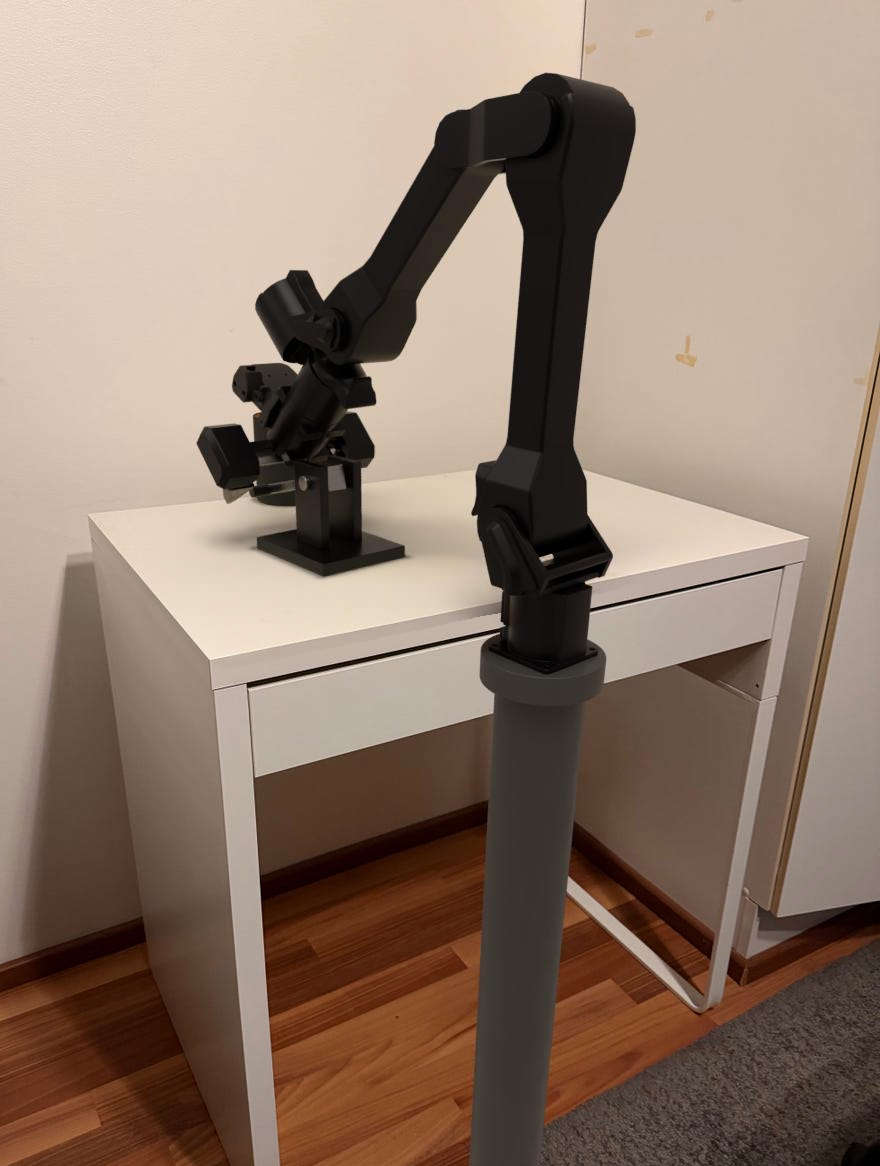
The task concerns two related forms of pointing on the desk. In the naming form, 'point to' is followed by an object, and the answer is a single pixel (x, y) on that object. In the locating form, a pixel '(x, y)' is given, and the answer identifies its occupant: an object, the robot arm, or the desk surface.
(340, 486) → the tap lever
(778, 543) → the desk surface
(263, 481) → the mug
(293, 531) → the black stand
